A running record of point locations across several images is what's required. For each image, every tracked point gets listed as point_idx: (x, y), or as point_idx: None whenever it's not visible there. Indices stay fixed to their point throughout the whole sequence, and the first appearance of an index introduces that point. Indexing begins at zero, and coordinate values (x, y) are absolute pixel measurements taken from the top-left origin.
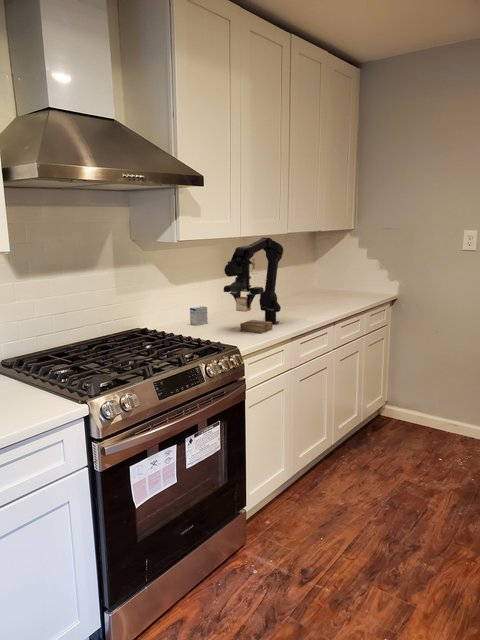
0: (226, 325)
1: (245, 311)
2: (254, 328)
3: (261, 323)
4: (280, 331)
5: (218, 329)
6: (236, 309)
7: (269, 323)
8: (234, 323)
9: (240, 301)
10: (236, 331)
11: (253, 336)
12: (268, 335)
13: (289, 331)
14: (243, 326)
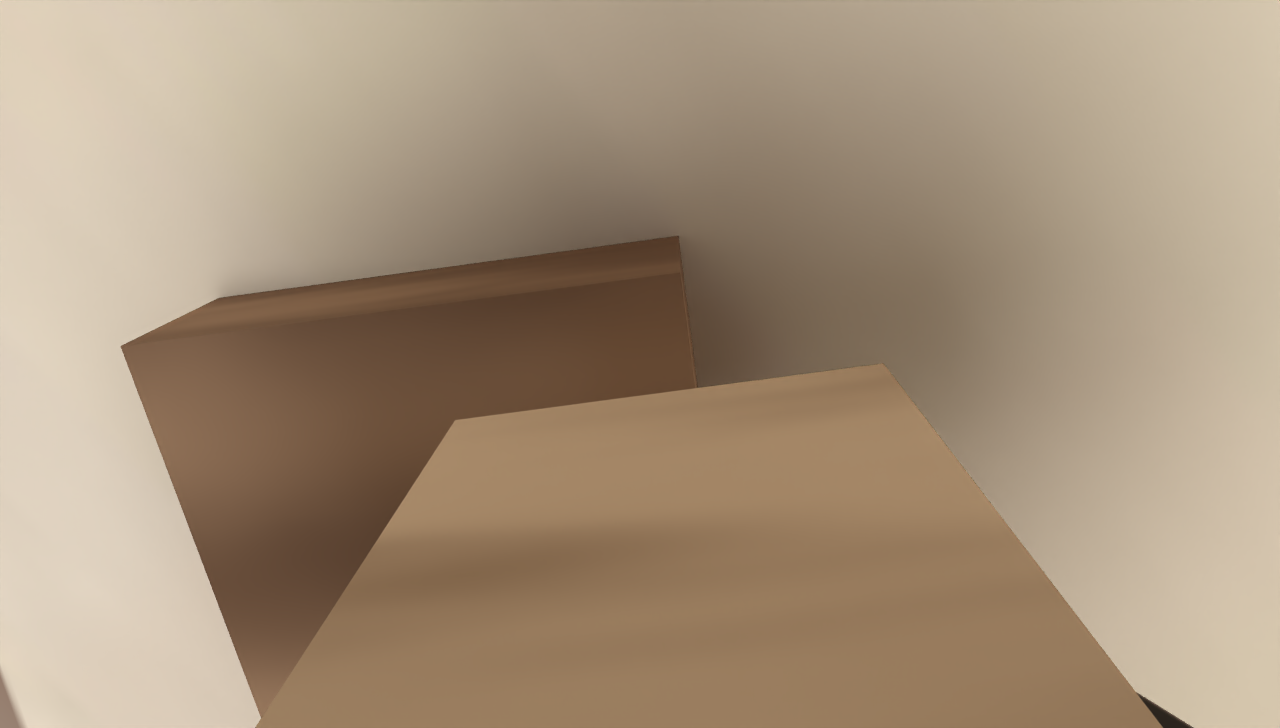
0: (1237, 479)
1: (453, 431)
2: (316, 303)
3: (327, 566)
4: (146, 638)
5: (1189, 63)
6: (884, 390)
7: (252, 677)
8: (1186, 687)
9: (670, 663)
10: (725, 162)
11: (129, 4)
12: (21, 276)
13: (58, 710)
14: (593, 270)
